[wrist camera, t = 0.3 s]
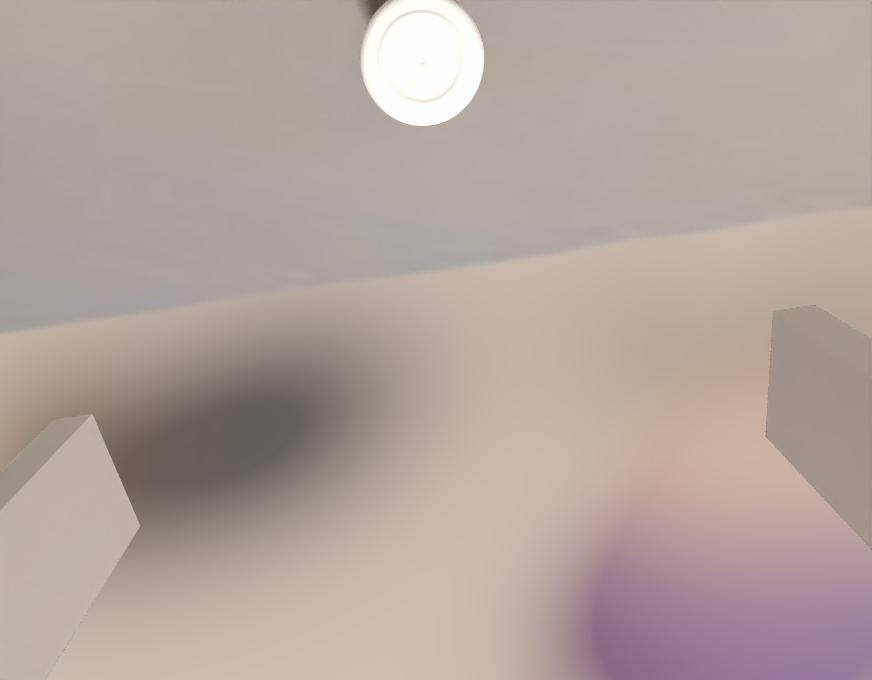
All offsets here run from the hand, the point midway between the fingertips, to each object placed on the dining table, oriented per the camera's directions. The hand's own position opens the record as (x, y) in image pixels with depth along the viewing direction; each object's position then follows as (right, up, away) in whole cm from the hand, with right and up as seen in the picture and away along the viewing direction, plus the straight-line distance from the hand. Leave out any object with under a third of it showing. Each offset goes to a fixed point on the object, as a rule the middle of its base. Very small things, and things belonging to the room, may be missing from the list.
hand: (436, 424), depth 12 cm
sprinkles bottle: (-1, +17, +23) cm, 28 cm away
